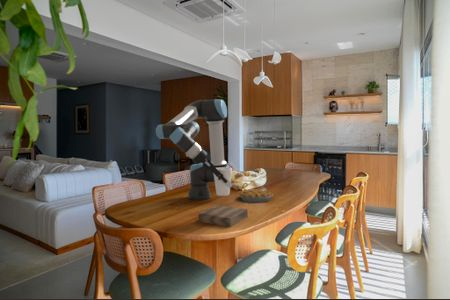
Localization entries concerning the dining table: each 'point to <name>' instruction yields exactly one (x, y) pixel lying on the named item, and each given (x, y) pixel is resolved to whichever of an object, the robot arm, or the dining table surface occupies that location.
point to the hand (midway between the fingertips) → (229, 184)
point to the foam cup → (220, 186)
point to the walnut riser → (223, 215)
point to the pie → (255, 195)
